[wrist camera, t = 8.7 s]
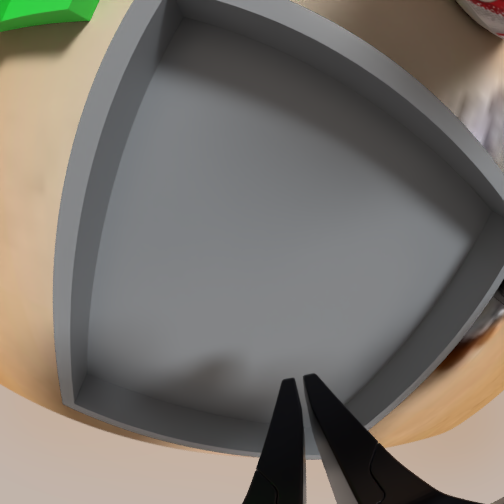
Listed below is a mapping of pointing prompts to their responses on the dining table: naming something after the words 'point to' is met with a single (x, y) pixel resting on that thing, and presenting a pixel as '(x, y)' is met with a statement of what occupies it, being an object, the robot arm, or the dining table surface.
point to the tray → (262, 226)
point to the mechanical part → (43, 12)
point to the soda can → (486, 14)
